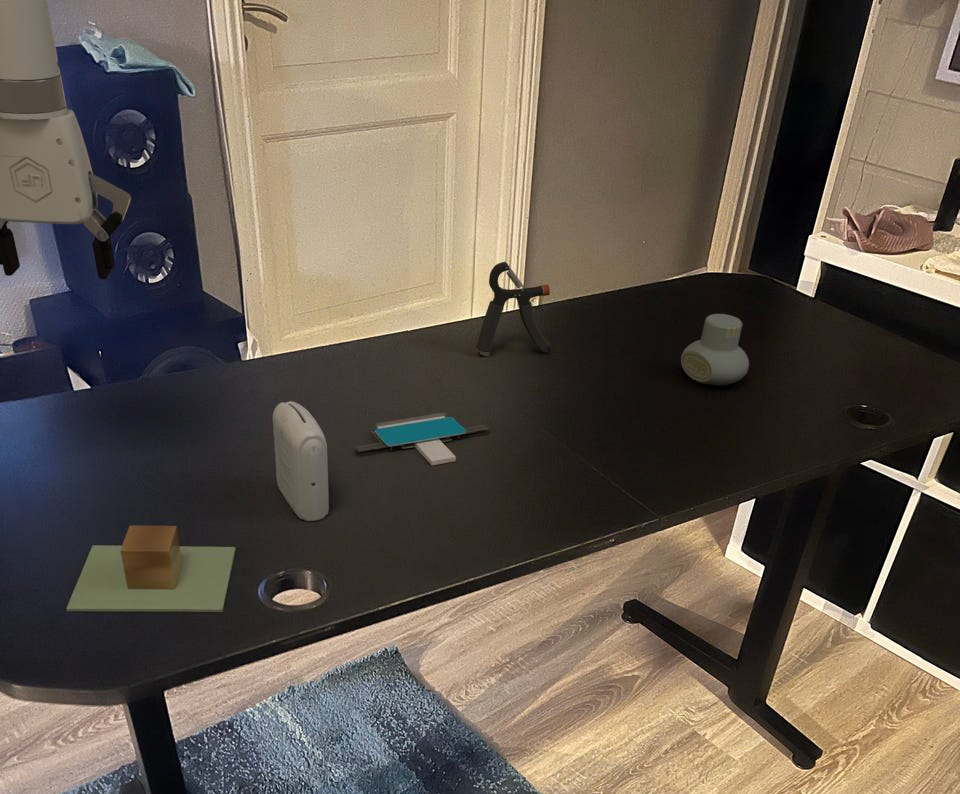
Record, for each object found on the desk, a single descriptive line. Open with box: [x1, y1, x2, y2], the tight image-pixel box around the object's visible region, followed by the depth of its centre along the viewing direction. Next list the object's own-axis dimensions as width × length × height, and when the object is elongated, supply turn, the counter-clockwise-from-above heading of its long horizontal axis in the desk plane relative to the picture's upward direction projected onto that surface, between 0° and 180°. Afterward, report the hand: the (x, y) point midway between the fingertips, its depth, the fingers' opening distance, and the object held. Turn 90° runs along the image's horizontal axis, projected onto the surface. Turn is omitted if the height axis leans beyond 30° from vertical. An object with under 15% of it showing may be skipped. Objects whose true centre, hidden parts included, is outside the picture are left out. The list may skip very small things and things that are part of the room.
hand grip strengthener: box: [476, 261, 552, 353], centre depth 158 cm, size 2×13×15 cm, turn 103°
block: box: [120, 524, 182, 589], centre depth 105 cm, size 5×5×5 cm
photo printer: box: [272, 400, 330, 522], centre depth 118 cm, size 10×4×12 cm, turn 28°
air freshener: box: [680, 313, 750, 386], centre depth 157 cm, size 11×8×10 cm
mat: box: [65, 544, 237, 613], centre depth 107 cm, size 16×12×1 cm
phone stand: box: [354, 411, 490, 466], centre depth 135 cm, size 20×12×2 cm, turn 117°
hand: (59, 273), depth 105 cm, fingers open, 9 cm apart
